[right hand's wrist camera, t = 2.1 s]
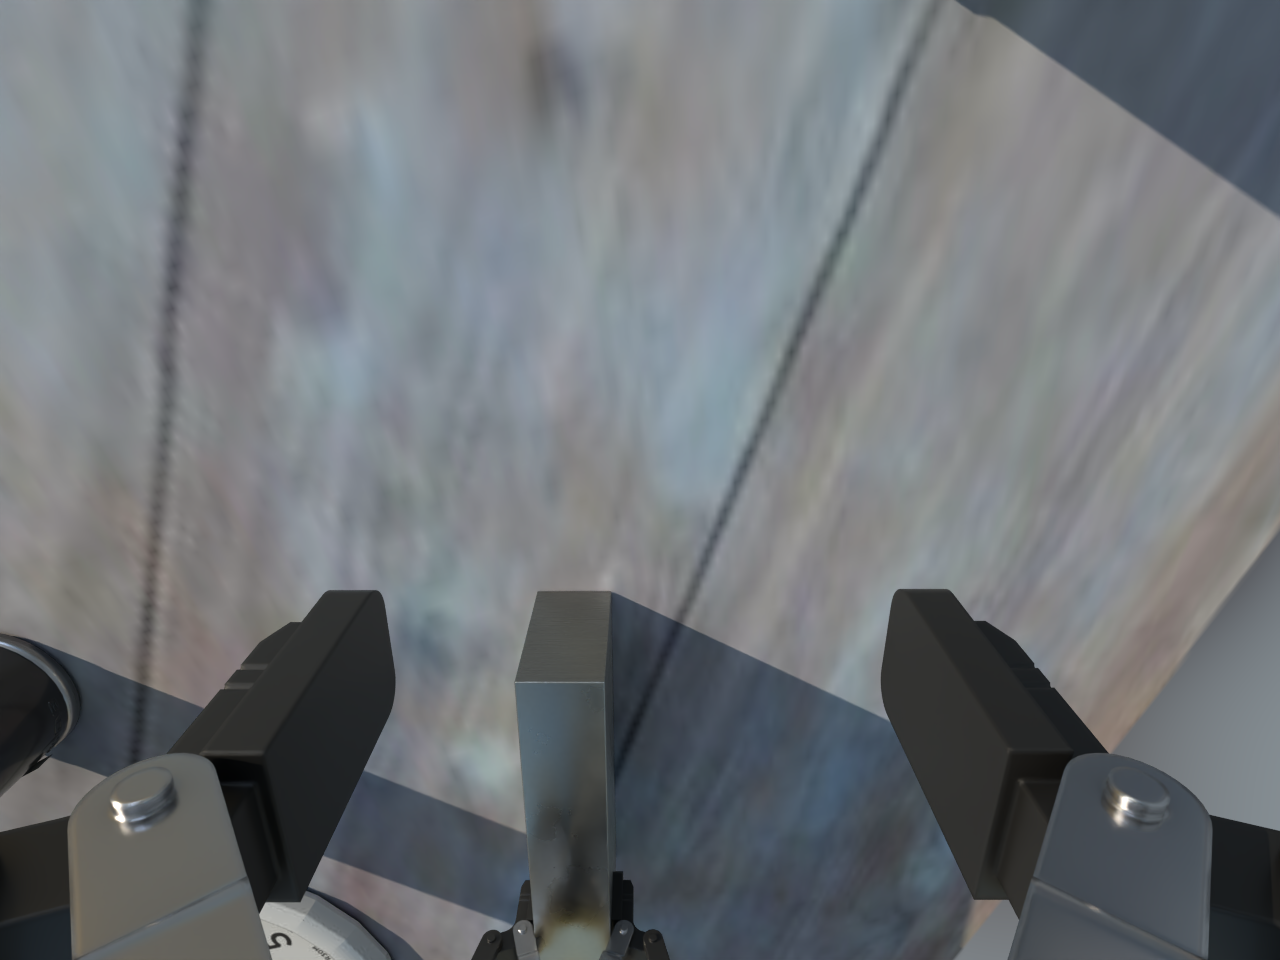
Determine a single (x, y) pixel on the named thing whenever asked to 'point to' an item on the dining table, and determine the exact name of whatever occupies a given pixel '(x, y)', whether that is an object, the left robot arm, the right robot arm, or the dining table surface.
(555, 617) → the bar
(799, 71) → the dining table surface
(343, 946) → the wall clock
